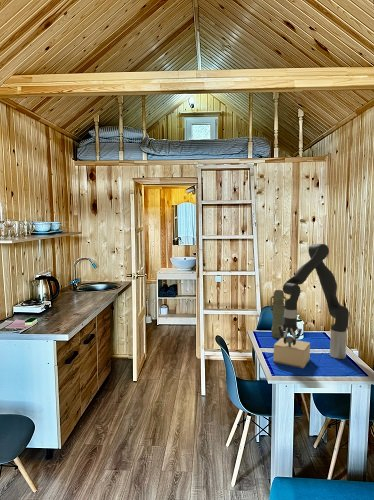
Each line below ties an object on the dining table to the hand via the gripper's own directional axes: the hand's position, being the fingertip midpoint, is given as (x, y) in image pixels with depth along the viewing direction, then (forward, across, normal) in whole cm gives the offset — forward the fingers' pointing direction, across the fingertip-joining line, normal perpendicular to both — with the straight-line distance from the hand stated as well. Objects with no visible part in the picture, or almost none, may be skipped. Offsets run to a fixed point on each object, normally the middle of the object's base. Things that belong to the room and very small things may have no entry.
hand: (289, 344), depth 220 cm
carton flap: (+2, 0, -6) cm, 6 cm away
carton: (+12, 0, -6) cm, 14 cm away
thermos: (+12, +22, -50) cm, 56 cm away
